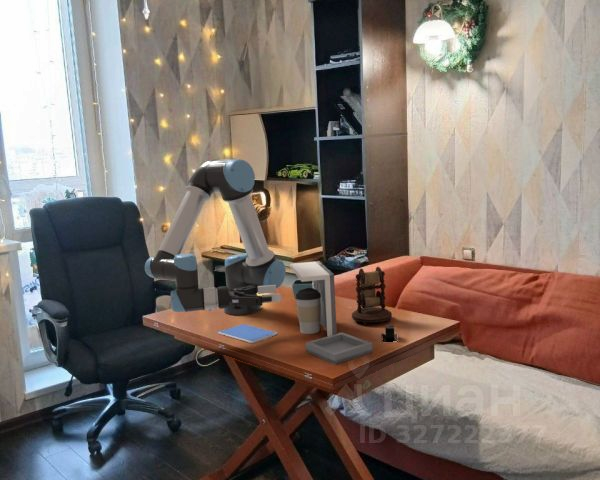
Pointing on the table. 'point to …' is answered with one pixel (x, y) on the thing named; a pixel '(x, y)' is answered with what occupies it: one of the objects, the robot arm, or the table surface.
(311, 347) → the tray
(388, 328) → the black angled block
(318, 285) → the cubby
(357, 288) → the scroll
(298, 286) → the flower pot
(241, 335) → the blue piece
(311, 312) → the coffee cup
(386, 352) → the table surface
